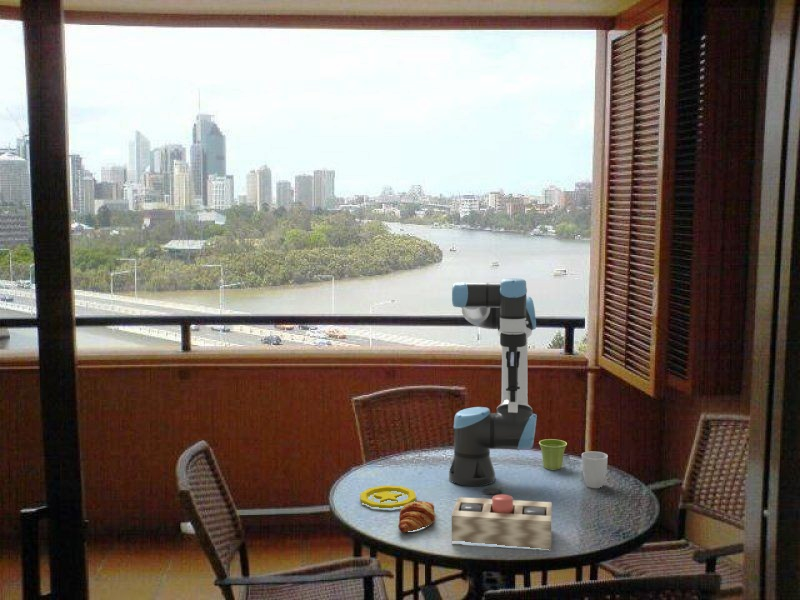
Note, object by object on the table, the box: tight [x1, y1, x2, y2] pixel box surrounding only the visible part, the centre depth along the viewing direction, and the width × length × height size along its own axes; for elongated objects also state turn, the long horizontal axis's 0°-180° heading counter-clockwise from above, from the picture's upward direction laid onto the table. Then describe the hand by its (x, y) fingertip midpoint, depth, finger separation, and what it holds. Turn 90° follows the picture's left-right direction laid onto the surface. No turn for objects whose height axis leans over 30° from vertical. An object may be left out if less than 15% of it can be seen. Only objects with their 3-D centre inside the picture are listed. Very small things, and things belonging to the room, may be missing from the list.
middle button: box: [491, 494, 514, 514], centre depth 222 cm, size 6×6×5 cm
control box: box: [451, 496, 553, 551], centre depth 222 cm, size 26×14×8 cm, turn 79°
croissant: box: [398, 500, 436, 533], centre depth 233 cm, size 21×10×8 cm, turn 157°
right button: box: [524, 507, 545, 516], centre depth 221 cm, size 6×6×5 cm
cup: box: [581, 451, 609, 489], centre depth 262 cm, size 8×8×10 cm
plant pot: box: [538, 438, 568, 471], centre depth 281 cm, size 9×9×9 cm
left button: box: [461, 503, 481, 512], centre depth 224 cm, size 6×6×5 cm
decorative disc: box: [360, 485, 417, 508], centre depth 252 cm, size 17×18×2 cm
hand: (512, 411), depth 240 cm, fingers closed
